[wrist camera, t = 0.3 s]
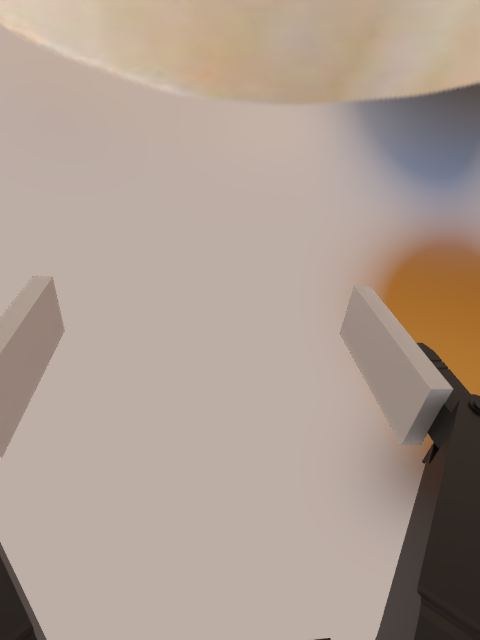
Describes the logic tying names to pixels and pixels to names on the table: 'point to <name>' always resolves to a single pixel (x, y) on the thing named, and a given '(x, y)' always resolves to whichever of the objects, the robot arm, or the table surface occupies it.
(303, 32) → the table surface
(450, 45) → the table surface
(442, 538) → the robot arm
